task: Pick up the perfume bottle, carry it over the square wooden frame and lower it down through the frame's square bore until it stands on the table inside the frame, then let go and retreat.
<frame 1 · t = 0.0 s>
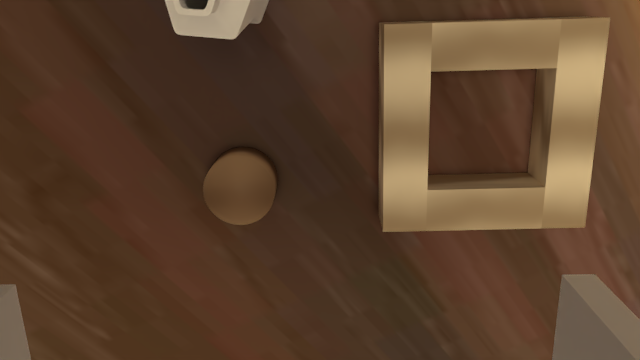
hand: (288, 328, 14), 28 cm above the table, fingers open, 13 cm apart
square wooden frame: (476, 120, 40), on the table
brown short cylinder: (244, 178, 42), on the table
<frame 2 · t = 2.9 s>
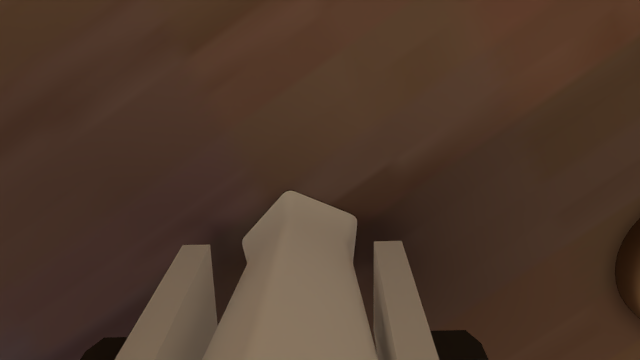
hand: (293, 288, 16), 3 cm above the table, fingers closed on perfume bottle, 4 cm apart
perfume bottle: (301, 239, 19), on the table, touching gripper
when the fingers open (5 cm above the table, at t = 8.2 s): perfume bottle drops 1 cm, resting in square wooden frame.
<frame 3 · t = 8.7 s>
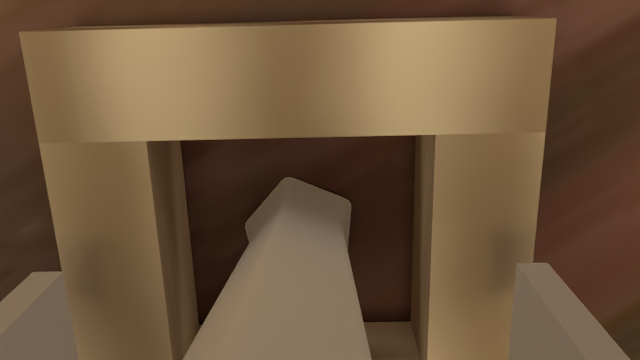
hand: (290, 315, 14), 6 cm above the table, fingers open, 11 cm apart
perfume bottle: (300, 223, 20), resting in square wooden frame
square wooden frame: (300, 224, 20), on the table
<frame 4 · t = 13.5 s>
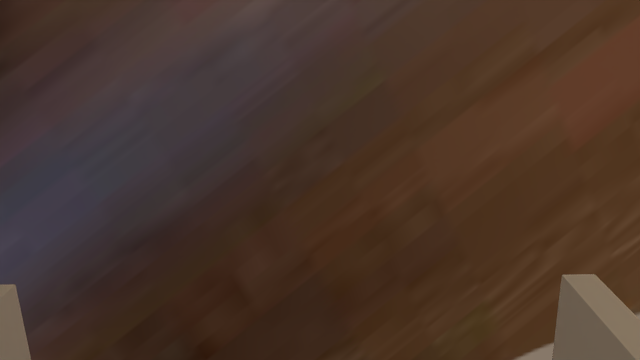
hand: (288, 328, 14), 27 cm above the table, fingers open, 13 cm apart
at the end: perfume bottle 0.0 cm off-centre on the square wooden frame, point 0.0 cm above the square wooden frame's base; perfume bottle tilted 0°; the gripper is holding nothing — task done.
